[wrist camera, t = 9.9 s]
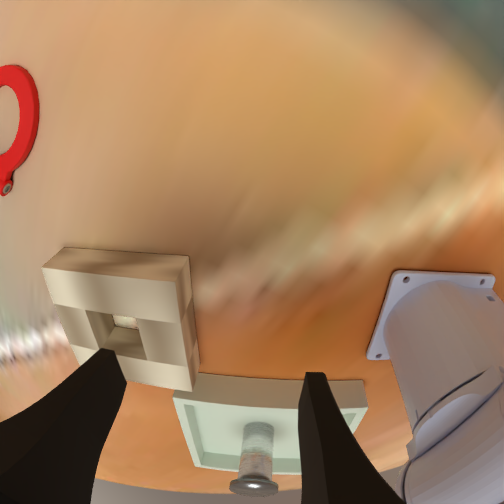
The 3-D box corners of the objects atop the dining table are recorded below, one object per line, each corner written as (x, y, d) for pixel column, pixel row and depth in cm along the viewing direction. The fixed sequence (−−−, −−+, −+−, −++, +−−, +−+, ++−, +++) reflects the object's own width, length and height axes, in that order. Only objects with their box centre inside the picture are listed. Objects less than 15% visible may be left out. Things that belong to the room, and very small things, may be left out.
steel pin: (270, 415, 25) (266, 482, 19) (286, 434, 27) (285, 494, 20) (230, 422, 26) (220, 485, 20) (249, 440, 28) (243, 497, 21)
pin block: (188, 256, 19) (174, 282, 16) (200, 363, 24) (192, 392, 21) (64, 247, 19) (41, 267, 17) (95, 345, 24) (81, 368, 21)
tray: (362, 379, 23) (368, 407, 21) (325, 453, 31) (327, 473, 28) (180, 370, 24) (172, 397, 22) (199, 446, 31) (195, 466, 29)
